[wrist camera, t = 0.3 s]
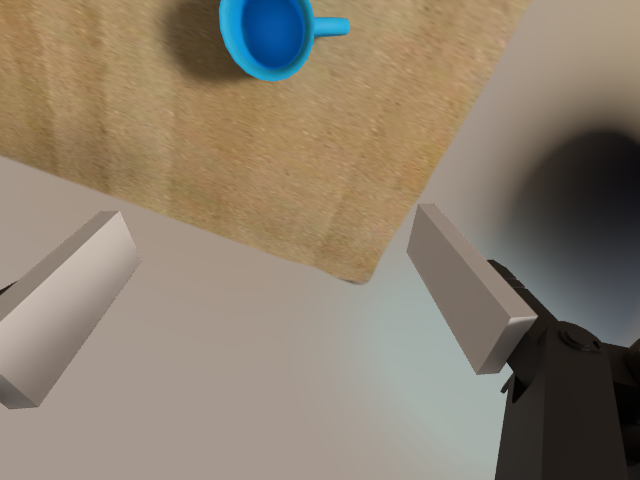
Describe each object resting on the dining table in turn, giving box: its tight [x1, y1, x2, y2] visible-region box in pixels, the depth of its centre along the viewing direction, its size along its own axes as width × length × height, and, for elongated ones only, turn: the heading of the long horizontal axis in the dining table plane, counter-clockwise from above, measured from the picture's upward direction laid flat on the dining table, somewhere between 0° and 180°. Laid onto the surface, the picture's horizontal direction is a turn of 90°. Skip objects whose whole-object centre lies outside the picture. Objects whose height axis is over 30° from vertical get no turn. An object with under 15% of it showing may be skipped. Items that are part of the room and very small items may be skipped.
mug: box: [219, 0, 350, 81], centre depth 27 cm, size 12×8×8 cm
